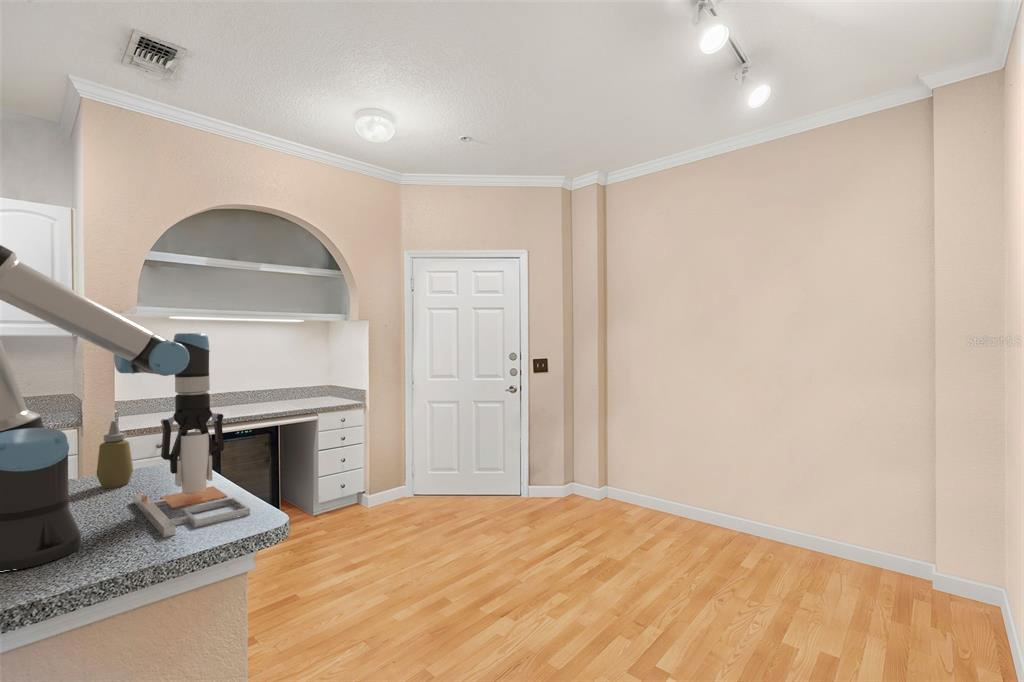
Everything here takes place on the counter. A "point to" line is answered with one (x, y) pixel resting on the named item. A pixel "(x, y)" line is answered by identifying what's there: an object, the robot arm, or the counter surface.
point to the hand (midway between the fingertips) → (194, 482)
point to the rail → (187, 509)
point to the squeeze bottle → (114, 459)
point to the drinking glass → (194, 462)
